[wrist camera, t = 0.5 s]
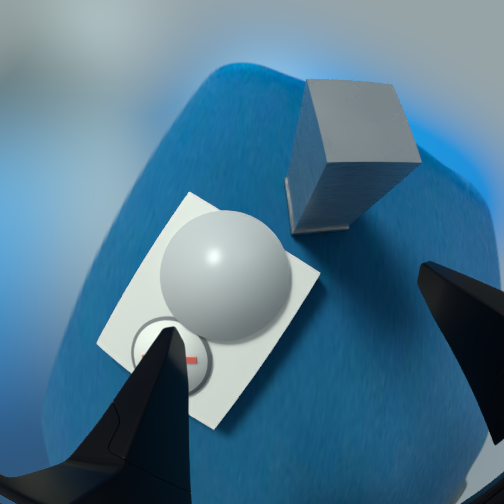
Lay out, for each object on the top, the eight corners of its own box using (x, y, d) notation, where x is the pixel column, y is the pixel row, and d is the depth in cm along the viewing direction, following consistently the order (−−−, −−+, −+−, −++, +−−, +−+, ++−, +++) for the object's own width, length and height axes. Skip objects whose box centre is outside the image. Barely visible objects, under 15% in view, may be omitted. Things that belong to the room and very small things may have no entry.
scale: (321, 266, 23) (327, 263, 20) (217, 420, 21) (213, 432, 19) (199, 191, 24) (193, 181, 22) (106, 340, 22) (93, 344, 20)
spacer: (346, 230, 23) (425, 165, 10) (290, 235, 23) (324, 165, 10) (337, 178, 24) (393, 82, 11) (283, 181, 24) (302, 76, 11)
